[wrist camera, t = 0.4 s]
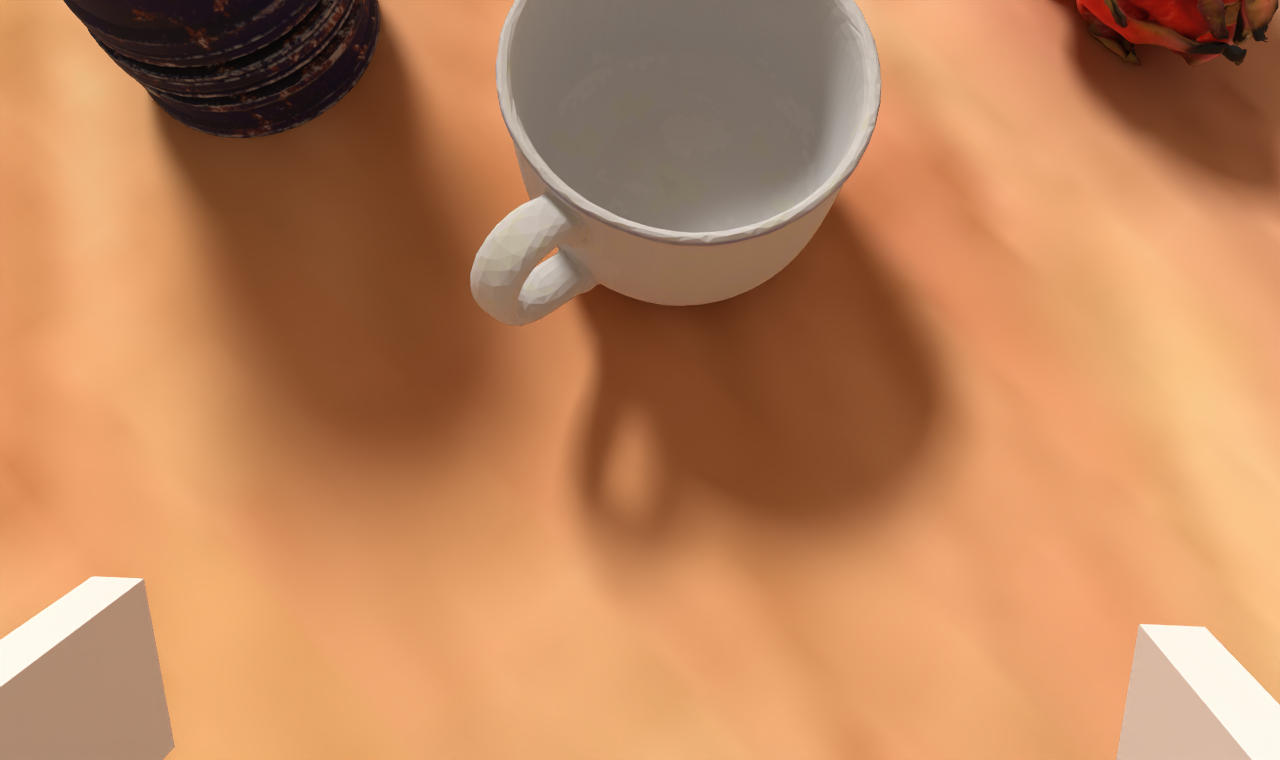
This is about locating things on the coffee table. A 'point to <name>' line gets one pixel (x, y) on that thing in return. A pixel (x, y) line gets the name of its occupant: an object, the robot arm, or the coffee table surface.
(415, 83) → the coffee table surface
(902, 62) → the coffee table surface
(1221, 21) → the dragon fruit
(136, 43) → the storage jar
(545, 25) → the teacup
